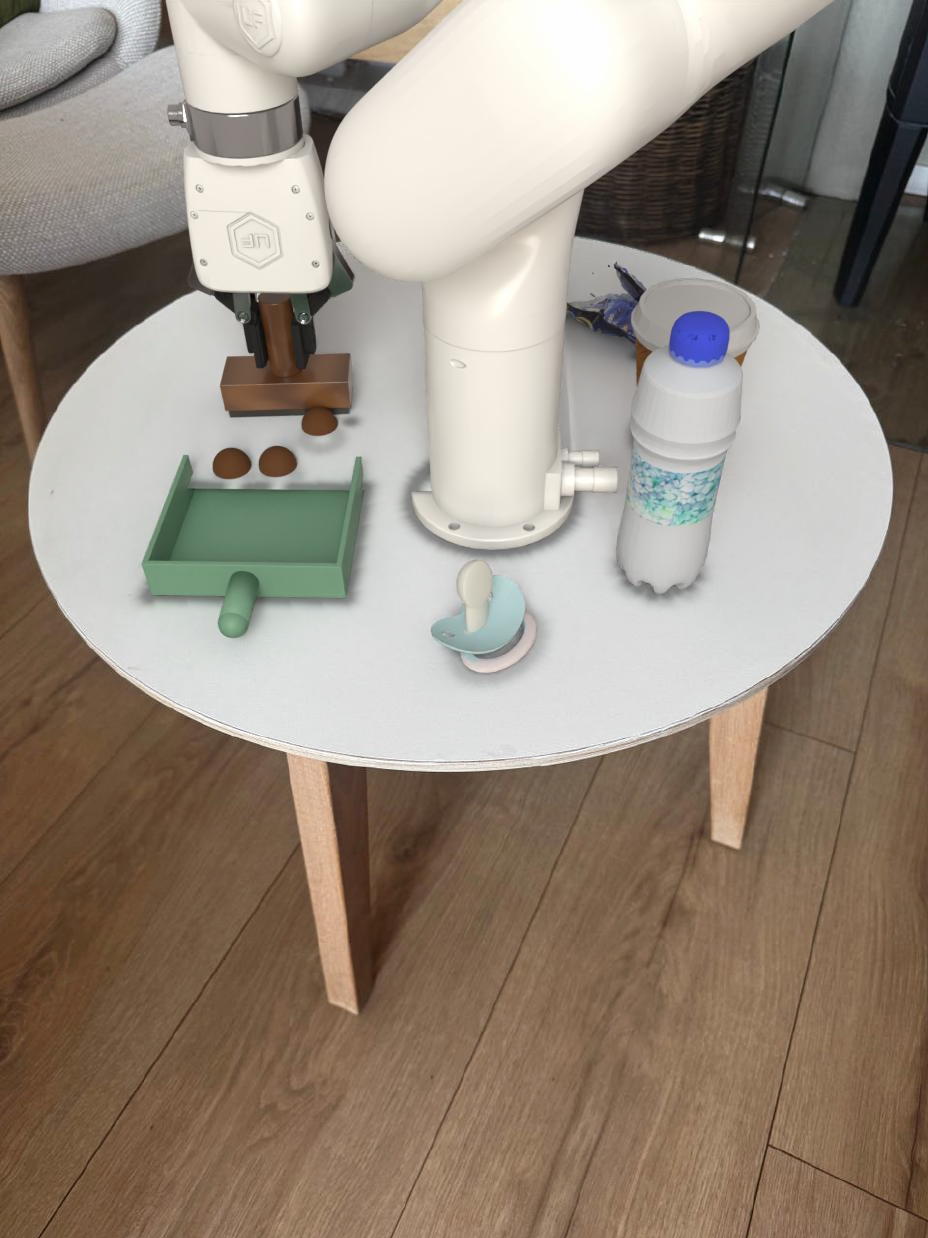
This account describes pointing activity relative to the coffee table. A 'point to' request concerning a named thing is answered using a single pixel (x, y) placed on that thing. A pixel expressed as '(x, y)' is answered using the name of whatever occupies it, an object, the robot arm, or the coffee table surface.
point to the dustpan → (253, 544)
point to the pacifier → (486, 619)
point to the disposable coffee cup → (686, 296)
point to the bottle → (678, 452)
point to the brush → (285, 372)
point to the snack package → (611, 308)
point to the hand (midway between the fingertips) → (284, 357)
